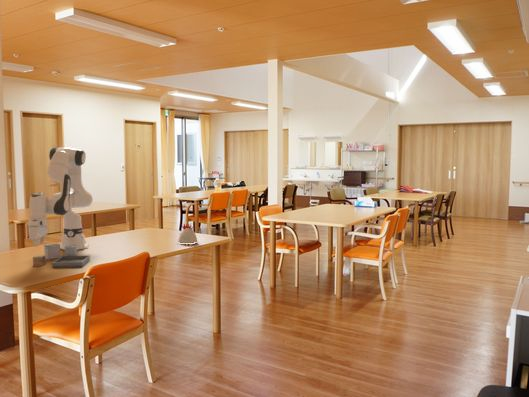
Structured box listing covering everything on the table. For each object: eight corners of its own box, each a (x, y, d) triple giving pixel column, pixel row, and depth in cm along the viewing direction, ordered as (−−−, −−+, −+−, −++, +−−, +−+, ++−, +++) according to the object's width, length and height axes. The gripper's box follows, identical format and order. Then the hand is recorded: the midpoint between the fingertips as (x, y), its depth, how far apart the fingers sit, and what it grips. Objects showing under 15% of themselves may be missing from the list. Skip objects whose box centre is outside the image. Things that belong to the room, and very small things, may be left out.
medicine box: (57, 256, 287) (56, 243, 287) (60, 257, 285) (60, 244, 284) (44, 258, 281) (44, 244, 281) (47, 259, 278) (47, 245, 278)
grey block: (66, 258, 284) (66, 245, 283) (78, 258, 284) (78, 245, 284) (63, 260, 277) (62, 247, 276) (75, 260, 278) (75, 247, 277)
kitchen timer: (180, 241, 345) (180, 222, 344) (198, 242, 345) (198, 222, 344) (176, 245, 331) (176, 224, 330) (195, 245, 331) (195, 224, 330)
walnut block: (36, 263, 268) (36, 255, 268) (45, 263, 269) (45, 255, 268) (33, 265, 263) (32, 257, 263) (42, 265, 264) (42, 257, 263)
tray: (62, 260, 276) (62, 255, 276) (89, 260, 278) (89, 255, 278) (52, 267, 258) (52, 262, 258) (81, 267, 260) (81, 262, 260)
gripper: (38, 219, 273) (39, 242, 274) (26, 223, 253) (26, 248, 254) (50, 219, 274) (50, 242, 275) (38, 223, 254) (38, 247, 255)
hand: (39, 245), depth 265 cm, fingers open, 8 cm apart
